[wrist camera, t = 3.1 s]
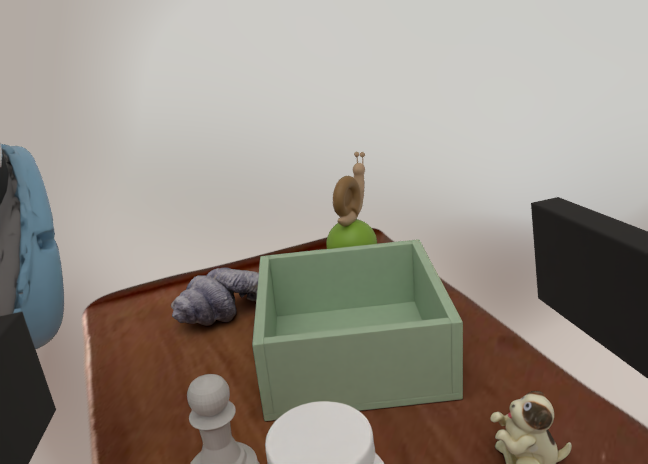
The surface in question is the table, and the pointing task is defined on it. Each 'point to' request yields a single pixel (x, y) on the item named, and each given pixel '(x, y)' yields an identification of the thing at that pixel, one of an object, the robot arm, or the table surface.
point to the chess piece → (216, 423)
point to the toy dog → (528, 432)
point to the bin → (355, 329)
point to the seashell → (214, 296)
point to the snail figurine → (350, 212)
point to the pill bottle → (321, 436)
